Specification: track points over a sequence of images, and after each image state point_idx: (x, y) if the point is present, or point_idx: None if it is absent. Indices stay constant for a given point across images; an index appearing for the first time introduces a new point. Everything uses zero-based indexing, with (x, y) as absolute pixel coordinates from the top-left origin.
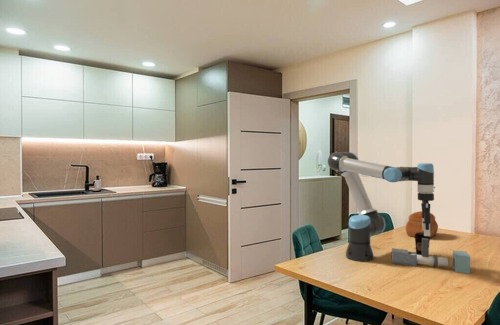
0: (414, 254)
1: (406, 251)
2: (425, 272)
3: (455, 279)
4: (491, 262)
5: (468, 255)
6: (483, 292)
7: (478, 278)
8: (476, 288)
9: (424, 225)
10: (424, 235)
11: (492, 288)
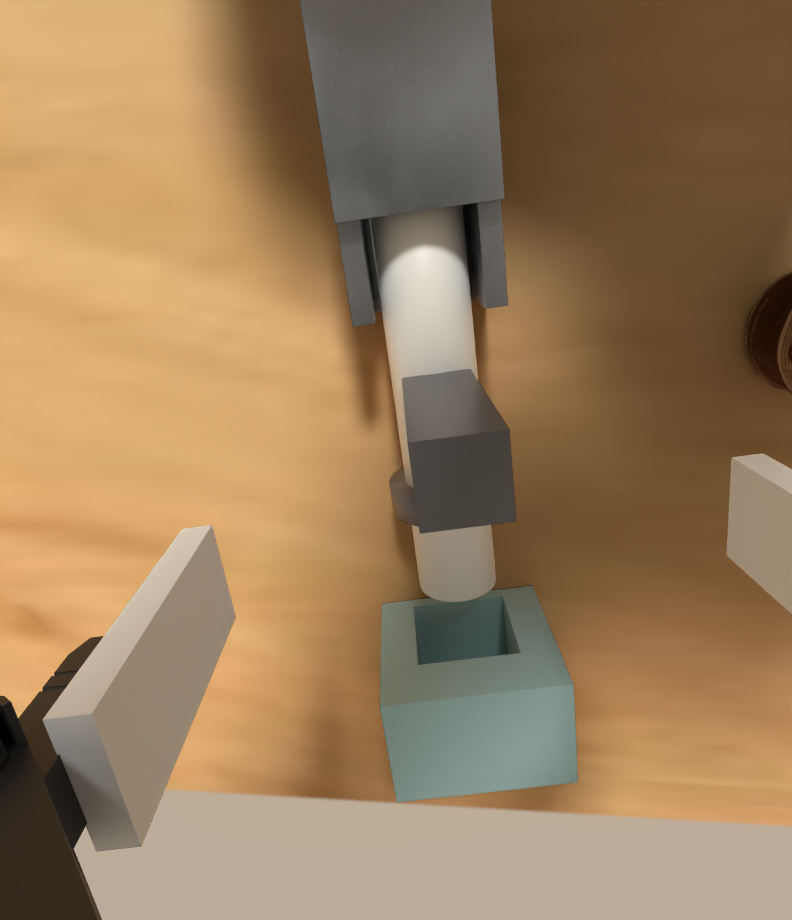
0: (435, 289)
1: (406, 187)
2: (225, 397)
3: None
4: (779, 806)
5: (435, 793)
6: None
7: (321, 724)
8: None
9: (82, 677)
10: (181, 538)
11: None
